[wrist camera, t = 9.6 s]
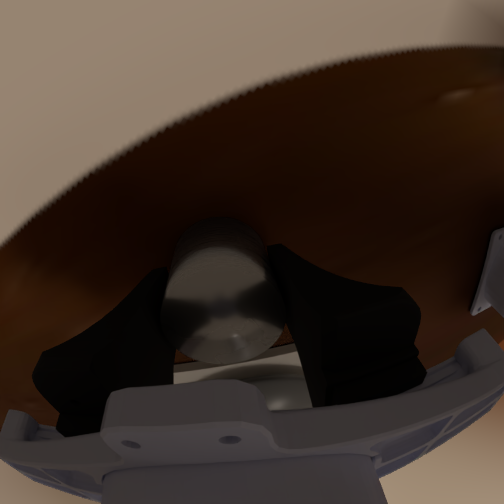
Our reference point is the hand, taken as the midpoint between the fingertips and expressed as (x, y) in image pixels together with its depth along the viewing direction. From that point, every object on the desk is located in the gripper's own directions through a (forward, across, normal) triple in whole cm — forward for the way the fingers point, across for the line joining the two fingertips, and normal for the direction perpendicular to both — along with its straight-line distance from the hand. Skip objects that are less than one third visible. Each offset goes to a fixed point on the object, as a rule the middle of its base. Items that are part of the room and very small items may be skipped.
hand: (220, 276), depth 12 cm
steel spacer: (+1, 0, 0) cm, 1 cm away
